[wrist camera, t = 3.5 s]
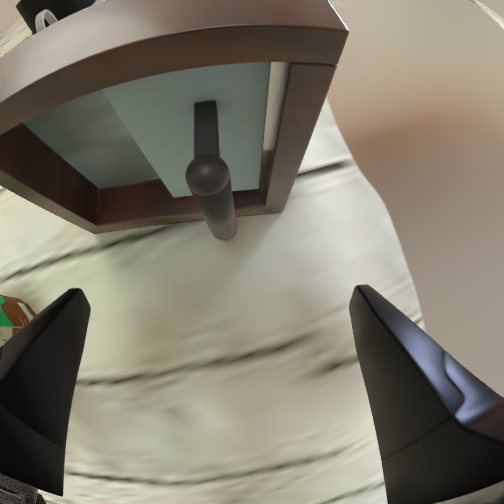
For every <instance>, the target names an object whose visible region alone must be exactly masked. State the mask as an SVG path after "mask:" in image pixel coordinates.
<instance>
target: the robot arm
mask: <svg viewBox="0 0 504 504" xmlns="http://www.w3.org/2000/svg"><path fill="white" fill-rule="evenodd" d="M349 311H350V317H351V322H352V328H353V334H354V340H355V346H356V351H357V355H358V359H359V363H360V367H361V371H362V374H363V378H364V382H365V386H366V390H367V394H368V399H369V403H370V407H371V412H372V416H373V421H374V425H375V430H376V435H377V440H378V445H379V450H380V456H381V461H382V468H383V474H384V481H385V487H386V495H387V502H388V504H504V398H503V397H502V396H500V395H498V394H497V393H496V392H494V391H493V390H492V389H491V388H489V387H488V386H487V385H486V384H484V383H483V382H482V381H481V380H479V379H478V378H477V377H476V376H474V375H473V374H472V373H470V372H469V371H468V370H467V369H466V368H464V367H463V366H462V365H461V364H460V363H459V362H458V361H456V360H455V359H454V358H453V357H452V356H451V355H450V354H449V353H448V352H446V351H445V350H444V349H443V348H442V347H441V346H440V345H439V344H437V343H436V342H435V341H434V340H433V339H432V338H431V337H430V336H429V335H427V334H426V333H425V332H424V331H423V330H422V329H421V328H419V327H418V326H417V325H416V324H415V323H414V322H412V321H411V320H410V319H409V318H408V317H407V316H405V315H404V314H403V313H402V312H401V311H400V310H398V309H397V308H396V307H395V306H394V305H392V304H391V303H390V302H389V301H388V300H386V299H385V298H384V297H383V296H382V295H380V294H379V293H378V292H377V291H376V290H374V289H373V288H372V287H371V286H369V285H357V286H355V288H354V291H353V294H352V297H351V301H350V304H349ZM90 312H91V309H90V304H89V302H88V300H87V298H86V296H85V294H84V292H83V291H82V290H81V289H80V288H71V289H69V290H68V291H66V292H65V293H64V294H62V295H61V296H60V297H59V298H57V299H56V300H55V301H54V302H52V303H51V304H50V305H49V306H47V307H46V308H45V309H44V310H42V311H41V312H40V313H39V314H38V315H36V316H35V317H34V318H33V319H32V320H30V321H29V322H28V323H27V324H26V325H25V326H23V327H22V328H21V329H20V330H19V331H18V332H17V333H15V334H14V335H13V336H12V337H11V338H10V339H9V340H8V341H6V342H5V343H4V345H2V346H1V347H0V504H46V502H45V501H44V499H43V497H42V495H41V494H39V493H37V491H38V489H40V490H43V491H46V492H49V493H52V494H55V495H58V496H62V497H63V481H64V462H65V449H66V439H67V431H68V424H69V417H70V411H71V405H72V399H73V394H74V389H75V384H76V379H77V375H78V370H79V366H80V362H81V358H82V354H83V349H84V344H85V338H86V333H87V327H88V322H89V317H90Z"/></svg>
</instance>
